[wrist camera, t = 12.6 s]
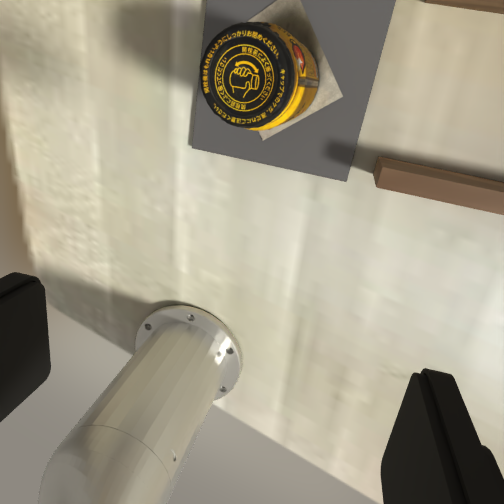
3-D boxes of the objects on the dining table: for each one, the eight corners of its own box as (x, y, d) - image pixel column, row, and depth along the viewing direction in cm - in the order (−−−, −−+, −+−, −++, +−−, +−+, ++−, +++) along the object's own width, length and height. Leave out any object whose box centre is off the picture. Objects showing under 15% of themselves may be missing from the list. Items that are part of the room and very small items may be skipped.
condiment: (263, 140, 34) (221, 164, 23) (214, 44, 32) (143, 20, 21) (343, 96, 31) (338, 99, 20) (295, -12, 29) (261, -73, 18)
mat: (346, 180, 34) (346, 181, 33) (194, 147, 36) (191, 148, 35) (398, -10, 28) (399, -12, 27) (213, -37, 30) (210, -39, 29)
